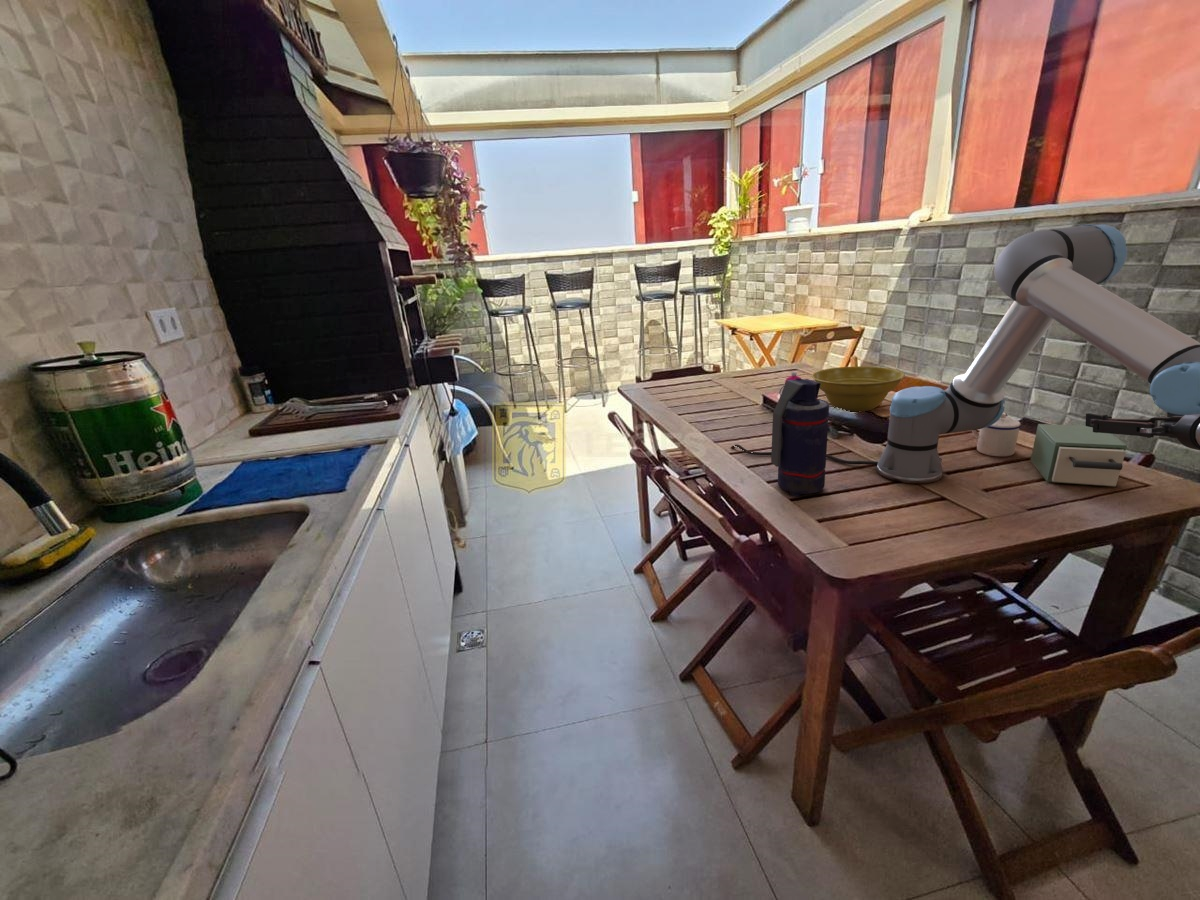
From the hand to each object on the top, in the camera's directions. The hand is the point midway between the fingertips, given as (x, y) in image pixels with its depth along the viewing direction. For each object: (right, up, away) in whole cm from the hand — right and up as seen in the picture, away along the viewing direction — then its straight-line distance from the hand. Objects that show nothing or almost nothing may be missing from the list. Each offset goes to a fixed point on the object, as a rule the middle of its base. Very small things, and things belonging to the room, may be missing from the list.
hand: (1127, 416), depth 103 cm
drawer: (+7, -14, +18) cm, 24 cm away
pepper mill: (-41, +12, +76) cm, 87 cm away
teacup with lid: (+3, -7, +40) cm, 41 cm away
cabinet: (+9, -13, +22) cm, 28 cm away
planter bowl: (-10, +10, +91) cm, 92 cm away
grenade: (-58, -18, +30) cm, 68 cm away
